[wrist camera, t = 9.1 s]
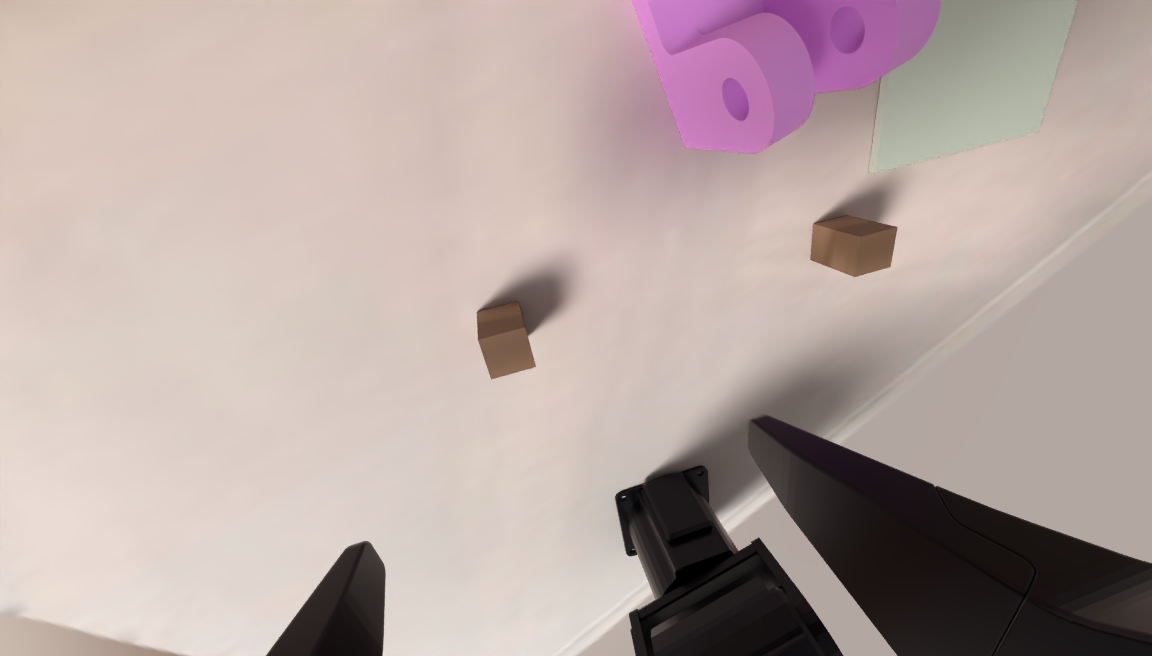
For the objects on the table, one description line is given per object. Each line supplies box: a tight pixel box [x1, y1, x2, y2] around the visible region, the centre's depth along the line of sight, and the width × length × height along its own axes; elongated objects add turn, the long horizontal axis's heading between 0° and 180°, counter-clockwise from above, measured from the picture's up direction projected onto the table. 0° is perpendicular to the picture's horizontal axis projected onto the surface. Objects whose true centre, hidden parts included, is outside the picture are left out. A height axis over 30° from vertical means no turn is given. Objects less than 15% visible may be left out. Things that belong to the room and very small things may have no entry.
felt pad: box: [869, 0, 1078, 173], centre depth 20 cm, size 10×10×1 cm
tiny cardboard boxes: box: [477, 216, 897, 379], centre depth 16 cm, size 20×20×3 cm
